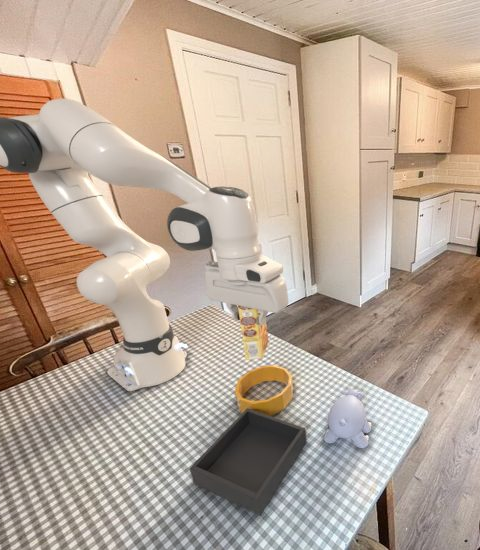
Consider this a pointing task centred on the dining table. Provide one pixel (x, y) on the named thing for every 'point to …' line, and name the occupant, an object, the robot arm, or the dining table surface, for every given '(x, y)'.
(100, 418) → the dining table surface
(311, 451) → the dining table surface
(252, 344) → the candy box
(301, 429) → the bin
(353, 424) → the hippopotamus toy
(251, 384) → the ring
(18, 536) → the dining table surface
